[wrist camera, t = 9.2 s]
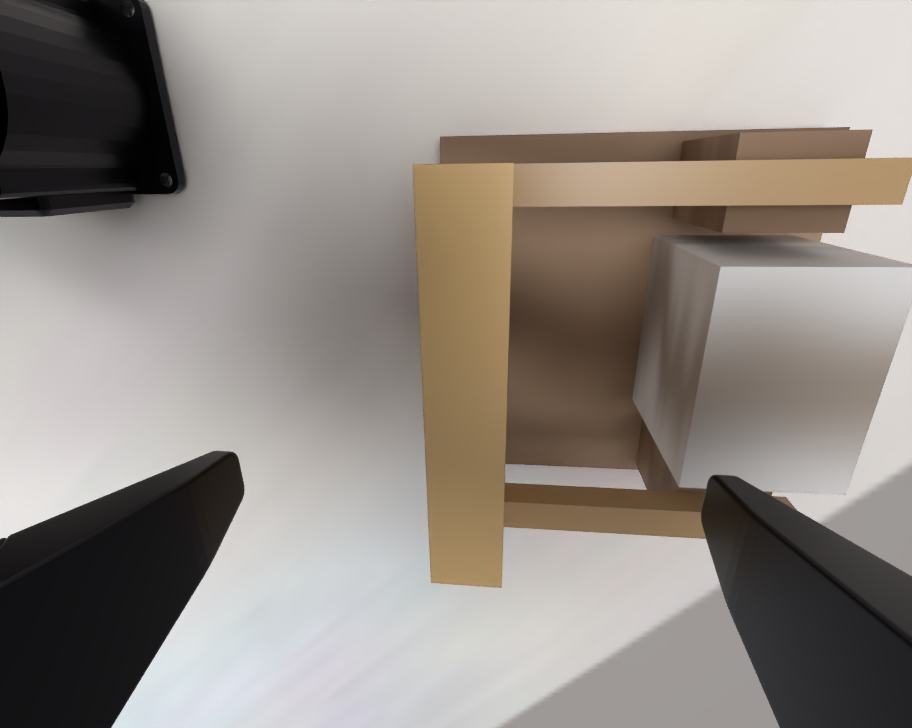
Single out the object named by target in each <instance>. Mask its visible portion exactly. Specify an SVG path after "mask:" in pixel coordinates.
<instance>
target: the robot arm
mask: <svg viewBox="0 0 912 728" xmlns="http://www.w3.org/2000/svg"><path fill="white" fill-rule="evenodd" d="M132 3H133V6H134V10H135V12H134V14H133V16H130V13H129V6H130V4H132ZM168 174H169V175H170V176H171V178H172V185H171V186H170V185H169V184H168V182H167V180H166V179H167V175H168ZM184 186H185V179H184V174H183V169H182V165H181V160H180V155H179V150H178V146H177V141H176V136H175V132H174V127H173V122H172V117H171V113H170V108H169V103H168V98H167V94H166V89H165V84H164V79H163V75H162V70H161V65H160V60H159V56H158V51H157V46H156V41H155V37H154V32H153V27H152V23H151V18H150V13H149V9H148V7H147V4H146V3H145V1H144V0H0V217H36V216H54V215H64V214H73V213H83V212H92V211H101V210H111V209H120V208H130V207H131V206H132V205H133V204H134V202H135V200H134V196H133V194H173V193H179V192H181V191H182V190H183V188H184ZM243 496H244V482H243V478H242V473H241V468H240V463H239V459H238V456H237V455H236V454H235V453H234V452H229V451H213V452H210V453H208V454H205V455H203V456H200V457H198V458H196V459H193V460H191V461H188V462H186V463H184V464H181V465H179V466H176V467H174V468H171V469H169V470H167V471H164V472H162V473H159V474H157V475H154V476H152V477H150V478H147V479H145V480H142V481H140V482H137V483H135V484H133V485H130V486H128V487H125V488H123V489H121V490H118V491H116V492H113V493H111V494H108V495H106V496H104V497H101V498H99V499H96V500H94V501H91V502H89V503H87V504H84V505H82V506H79V507H77V508H75V509H72V510H70V511H67V512H65V513H62V514H60V515H58V516H55V517H53V518H50V519H48V520H45V521H43V522H41V523H38V524H36V525H33V526H31V527H28V528H26V529H24V530H21V531H19V532H16V533H14V534H12V535H10V536H8V538H7V539H6V538H2V539H0V728H111V727H112V725H113V724H114V722H115V721H116V719H117V717H118V716H119V714H120V712H121V711H122V709H123V708H124V706H125V704H126V703H127V701H128V699H129V698H130V696H131V694H132V693H133V691H134V690H135V688H136V686H137V685H138V683H139V681H140V680H141V678H142V676H143V675H144V673H145V672H146V670H147V668H148V667H149V665H150V663H151V662H152V660H153V659H154V657H155V655H156V654H157V652H158V650H159V649H160V647H161V645H162V644H163V642H164V641H165V639H166V637H167V636H168V634H169V632H170V631H171V629H172V628H173V626H174V624H175V623H176V621H177V619H178V618H179V616H180V614H181V613H182V611H183V610H184V608H185V606H186V605H187V603H188V601H189V600H190V598H191V596H192V595H193V593H194V592H195V590H196V588H197V587H198V585H199V583H200V582H201V580H202V579H203V577H204V575H205V573H206V572H207V570H208V568H209V566H210V564H211V563H212V561H213V559H214V557H215V555H216V553H217V551H218V549H219V547H220V545H221V543H222V540H223V538H224V536H225V534H226V532H227V530H228V528H229V526H230V524H231V522H232V520H233V518H234V516H235V514H236V511H237V509H238V507H239V505H240V503H241V501H242V499H243ZM701 522H702V527H703V530H704V533H705V537H706V540H707V543H708V546H709V550H710V553H711V556H712V559H713V563H714V566H715V569H716V572H717V576H718V579H719V582H720V585H721V589H722V592H723V595H724V598H725V601H726V604H727V606H728V609H729V610H730V614H731V616H732V618H733V621H734V623H735V625H736V628H737V630H738V632H739V634H740V636H741V639H742V641H743V644H744V646H745V648H746V651H747V653H748V655H749V658H750V660H751V662H752V664H753V667H754V669H755V671H756V674H757V676H758V678H759V681H760V683H761V685H762V688H763V690H764V692H765V694H766V697H767V699H768V701H769V704H770V706H771V708H772V711H773V713H774V715H775V718H776V720H777V722H778V724H779V727H780V728H912V576H910V575H909V574H906V573H905V572H903V571H902V570H900V569H898V568H896V567H895V566H893V565H891V564H889V563H888V562H886V561H884V560H882V559H881V558H879V557H877V556H875V555H874V554H872V553H870V552H868V551H867V550H865V549H863V548H861V547H860V546H858V545H856V544H854V543H853V542H851V541H849V540H847V539H846V538H844V537H842V536H840V535H839V534H837V533H835V532H833V531H832V530H830V529H828V528H826V527H825V526H823V525H821V524H819V523H818V522H816V521H814V520H812V519H811V518H809V517H807V516H805V515H804V514H802V513H800V512H798V511H797V510H795V509H793V508H791V507H790V506H788V505H786V504H784V503H783V502H781V501H779V500H777V499H776V498H774V497H772V496H770V495H769V494H767V493H765V492H763V491H762V490H760V489H758V488H756V487H755V486H753V485H751V484H749V483H748V482H746V481H744V480H742V479H741V478H739V477H737V476H733V475H712V476H711V477H710V478H709V480H708V483H707V487H706V492H705V496H704V501H703V506H702V511H701Z"/></svg>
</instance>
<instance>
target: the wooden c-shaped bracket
mask: <svg viewBox="0 0 912 728" xmlns="http://www.w3.org/2000/svg"><path fill="white" fill-rule="evenodd" d="M911 175H912V158H857V159H791V160H725V161H659V162H594V163H528V164H514V163H476V164H413V180H414V203H415V226H416V249H417V272H418V295H419V318H420V342H421V365H422V388H423V411H424V434H425V457H426V480H427V503H428V526H429V549H430V572H431V583H441V584H455V585H469V586H484V587H498V588H502V556H503V527H515V528H532V529H549V530H566V531H583V532H600V533H617V534H634V535H651V536H668V537H685V538H702V539H706V537H705V533H704V530H703V527H702V522H701V511H702V506H703V501H704V496H705V493H695V492H675V491H655V490H635V489H615V488H595V487H575V486H555V485H534V484H514V483H505V452H506V418H507V383H508V349H509V314H510V280H511V245H512V211H513V207H580V206H736V205H893V204H902V203H903V200H904V197H905V194H906V191H907V188H908V184H909V181H910V178H911ZM772 497H774V498H776V499H777V500H779V501H781V502H783V503H784V504H786V505H788V506H790V507H791V508H793V509H795V508H794V506H793V505H792V504H791V503H790V502H789V500H788V499H787V498H786V497H775V496H772ZM795 510H796V509H795Z"/></svg>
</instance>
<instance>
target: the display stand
mask: <svg viewBox="0 0 912 728" xmlns="http://www.w3.org/2000/svg"><path fill="white" fill-rule="evenodd" d="M849 129H850V127H837V128H795V129H752V130H709V131H667V132H624V133H582V134H539V135H496V136H454V137H440V152H441V164H476V163H514V164H528V163H594V162H659V161H725V160H791V159H857V158H865V156H866V152H867V148H868V145H869V141H870V137H871V134H872V130H849ZM851 206H852V205H736V206H580V207H513V211H512V245H511V280H510V314H509V349H508V383H507V418H506V452H505V464H525V465H548V466H570V467H593V468H616V469H638V470H639V472H640V474H641V476H642V479H643V481H644V483H645V486H646V488H647V490H655V491H675V492H695V493H705V492H706V487H707V483H708V480H709V478H710V477H711V476H712V475H733V476H737V477H739V478H741V479H742V480H744V481H746V482H748V483H749V484H751V485H753V486H755V487H756V488H758V489H760V490H762V491H763V492H765V493H767V494H769V495H770V496H771V495H772V492H789V493H810V494H831V495H846V492H847V489H848V486H849V483H850V480H851V478H852V475H853V472H854V469H855V466H856V463H857V460H858V457H859V454H860V452H861V449H862V446H863V443H864V440H865V437H866V434H867V431H868V428H869V426H870V423H871V420H872V417H873V414H874V411H875V408H876V405H877V402H878V400H879V397H880V394H881V391H882V388H883V385H884V382H885V379H886V376H887V374H888V371H889V368H890V365H891V362H892V359H893V356H894V353H895V350H896V348H897V345H898V342H899V339H900V336H901V333H902V330H903V327H904V324H905V322H906V319H907V316H908V313H909V310H910V307H911V304H912V264H908V263H904V262H900V261H896V260H892V259H888V258H884V257H879V256H875V255H871V254H867V253H863V252H859V251H855V250H850V249H846V248H842V247H838V246H834V245H830V244H826V243H822V242H820V240H821V236H822V233H844V231H845V228H846V224H847V221H848V217H849V213H850V210H851Z"/></svg>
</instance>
